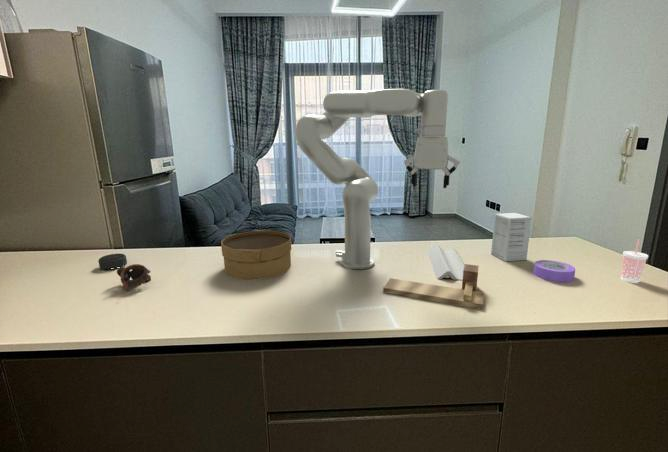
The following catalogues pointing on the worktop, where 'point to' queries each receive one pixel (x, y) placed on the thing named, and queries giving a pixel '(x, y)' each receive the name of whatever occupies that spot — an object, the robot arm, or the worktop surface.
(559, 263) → the masking tape
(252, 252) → the steamer basket
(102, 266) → the smart speaker
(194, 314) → the worktop surface
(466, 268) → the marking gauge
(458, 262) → the crown molding
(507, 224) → the supplement box
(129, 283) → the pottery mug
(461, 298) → the oak board
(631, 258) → the beverage cup
